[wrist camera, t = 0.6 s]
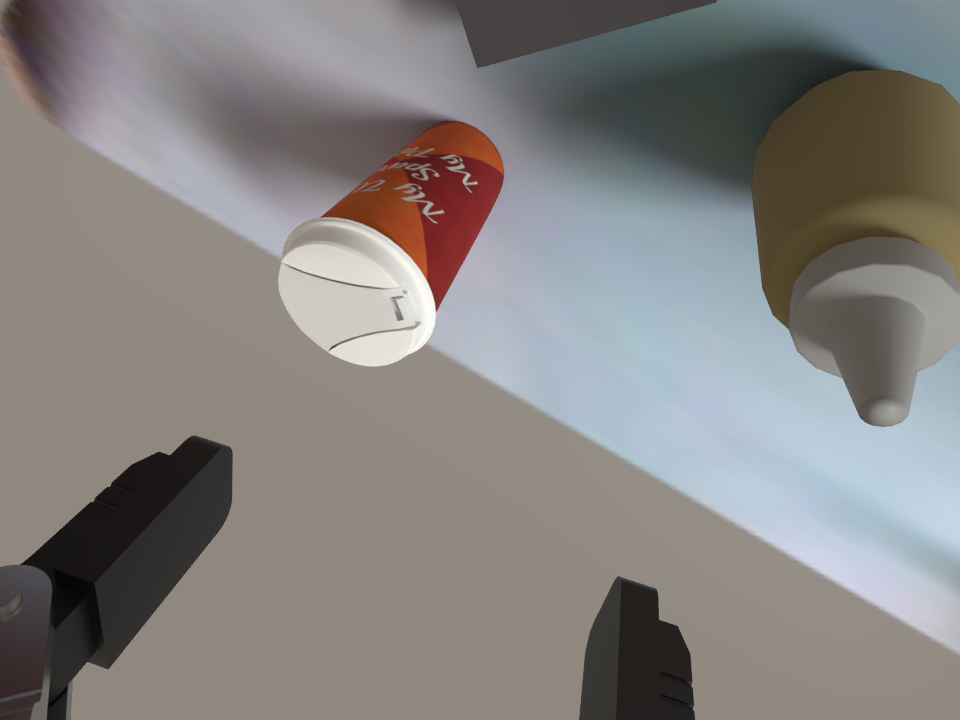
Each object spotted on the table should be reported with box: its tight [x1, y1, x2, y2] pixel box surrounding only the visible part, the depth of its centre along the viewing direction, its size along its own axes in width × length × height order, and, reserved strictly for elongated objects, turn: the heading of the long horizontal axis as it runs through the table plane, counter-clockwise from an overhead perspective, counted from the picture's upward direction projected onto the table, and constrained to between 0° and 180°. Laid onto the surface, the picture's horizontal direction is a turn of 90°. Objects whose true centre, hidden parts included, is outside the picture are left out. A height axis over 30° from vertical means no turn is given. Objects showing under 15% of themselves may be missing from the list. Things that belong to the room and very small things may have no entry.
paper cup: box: [278, 122, 504, 366], centre depth 33 cm, size 8×8×14 cm
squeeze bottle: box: [751, 70, 960, 427], centre depth 23 cm, size 8×8×18 cm
